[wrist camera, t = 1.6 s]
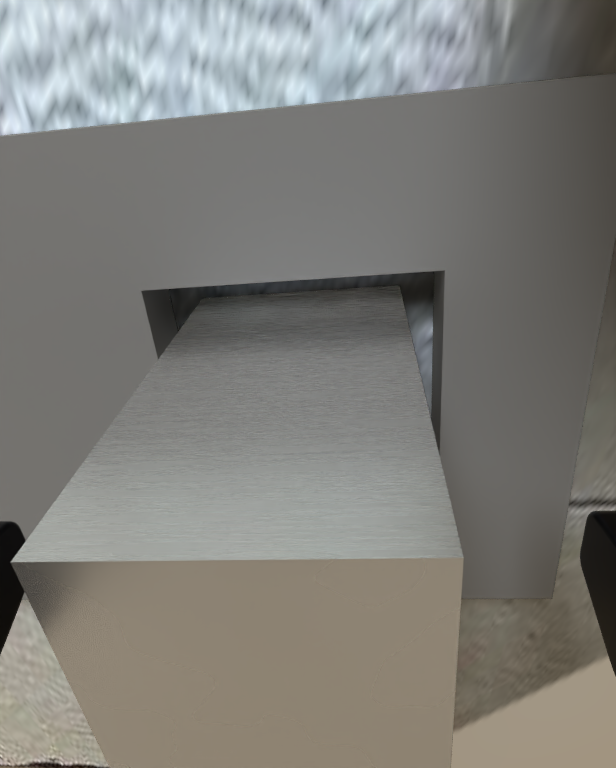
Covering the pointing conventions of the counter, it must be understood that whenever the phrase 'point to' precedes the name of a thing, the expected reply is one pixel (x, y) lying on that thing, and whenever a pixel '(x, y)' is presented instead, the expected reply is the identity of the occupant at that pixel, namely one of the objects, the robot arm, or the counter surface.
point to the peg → (262, 548)
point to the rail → (327, 260)
